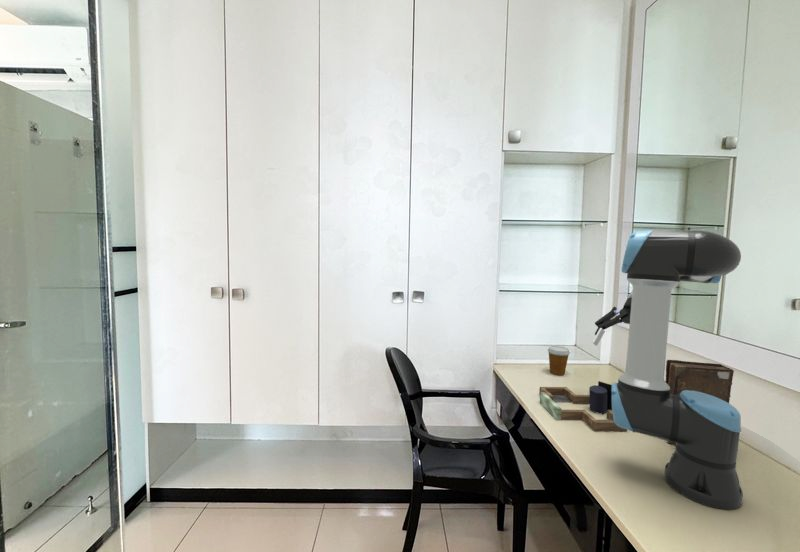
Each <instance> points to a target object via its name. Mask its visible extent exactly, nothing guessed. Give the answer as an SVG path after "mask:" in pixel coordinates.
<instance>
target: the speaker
mask: <svg viewBox="0 0 800 552" xmlns="http://www.w3.org/2000/svg"><path fill="white" fill-rule="evenodd" d="M611 389H612V384H609V383H607V382H604V381H603V382H602V381H600V380H598V382H597V385H591V386H589V389H588V390H589V394H588V395H589V400H590V404H589V409H590V411H592V412H593V413H596V414H605V413H607V410H612V391H611Z"/></svg>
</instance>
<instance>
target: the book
mask: <svg viewBox="0 0 800 552" xmlns="http://www.w3.org/2000/svg"><path fill="white" fill-rule="evenodd" d="M734 373H735V370H734V369H732V368H730V367H728V366H725V365H723V364H720V363H711V362H700V361H699V362H697V361H685V360H677V359H667V360H665V380H664V381H665V382H666V383H667V384H668V385H669V386H670V394H672V395H677V396H680V393H681V392H682V391H684V390H689V391H698V392H702V393H705V394H708V395H711V396H714V397H717V398H719V399H721V400H723V401H725V402H727V403H729V404H730V398H731V391H732V385H733V380H734V379H733V378H734ZM666 443H667V444H671V445H676V442H672V441H668V440H666Z"/></svg>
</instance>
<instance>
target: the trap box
mask: <svg viewBox="0 0 800 552" xmlns="http://www.w3.org/2000/svg"><path fill="white" fill-rule="evenodd" d="M538 394H539V403H540V404H541V405H542V407H544V409H545V410H547V412H548V413H549V414H550V415H551V416H552V417H553V418H554V419H555V420H557V421H583V423H585V424H586V425H587V426H588V428H590V429H592V431H594V432H628V430H627V429H623V428H620V427H618V426H617V425H616V424H615V422H614V420H613V413H612V410H607V412H606V417H605V418H606V419H596V418H595V417H594V416H593V415H592V414H590V413H589V412H588V411H587V410H586V409H562V408H561V407H560V406H559V404H557V403H572V404H573V405H590V400H589V394H575V392H573V391H572V390H571V389H569V388H568V387H567V386H539V393H538Z"/></svg>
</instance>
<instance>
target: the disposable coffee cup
mask: <svg viewBox="0 0 800 552" xmlns="http://www.w3.org/2000/svg"><path fill="white" fill-rule="evenodd" d="M547 352H548V363H549V373H550V374H551V375H553V376H557V377H559V376H560V377H562V376H565V375H564V374H565V373H566V369H567V364H568V359H569V355H570V354H571V353H570V349H569V348H567V347H564V346H559V345H552V346H548V349H547Z"/></svg>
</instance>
